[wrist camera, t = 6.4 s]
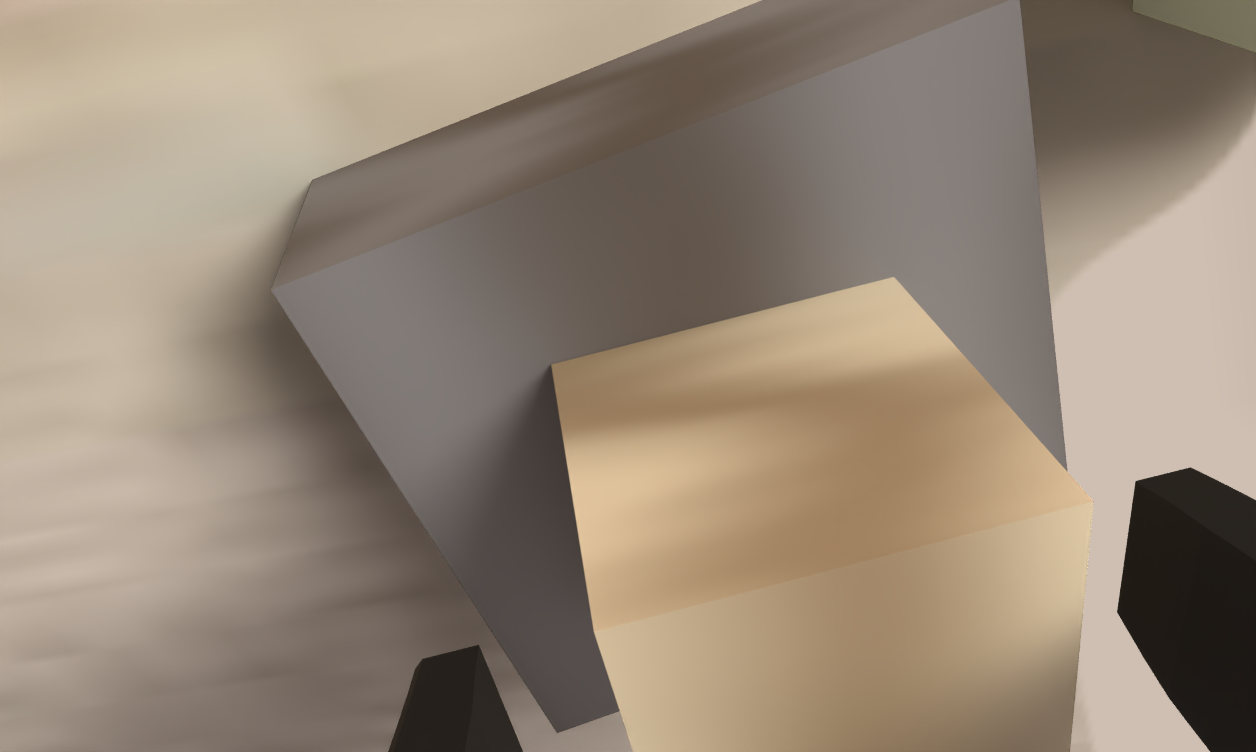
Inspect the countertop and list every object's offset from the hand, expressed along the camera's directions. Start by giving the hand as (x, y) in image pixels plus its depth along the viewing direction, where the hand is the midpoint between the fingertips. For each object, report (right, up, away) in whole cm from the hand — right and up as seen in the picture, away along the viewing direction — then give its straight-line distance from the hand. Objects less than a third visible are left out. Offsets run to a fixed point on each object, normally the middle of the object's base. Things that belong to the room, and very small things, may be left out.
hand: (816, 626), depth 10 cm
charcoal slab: (-1, +4, +6) cm, 7 cm away
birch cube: (0, +2, +3) cm, 3 cm away
